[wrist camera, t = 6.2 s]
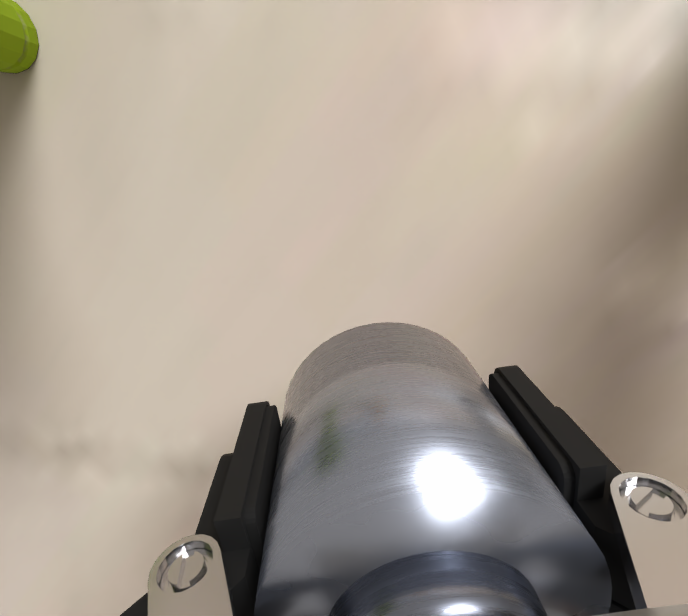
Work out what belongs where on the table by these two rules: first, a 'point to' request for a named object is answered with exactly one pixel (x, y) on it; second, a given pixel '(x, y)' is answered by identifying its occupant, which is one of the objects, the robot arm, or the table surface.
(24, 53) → the microphone
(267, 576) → the hub
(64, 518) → the table surface
